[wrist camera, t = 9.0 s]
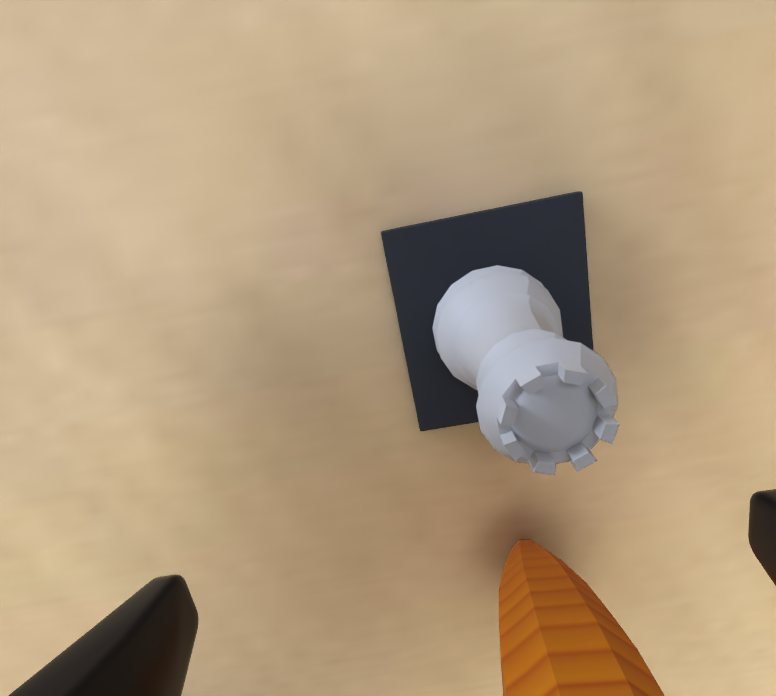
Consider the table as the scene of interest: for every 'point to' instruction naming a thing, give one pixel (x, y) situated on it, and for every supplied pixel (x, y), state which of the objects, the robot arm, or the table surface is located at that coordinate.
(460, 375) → the rook chess piece
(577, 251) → the coaster
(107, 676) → the robot arm
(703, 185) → the table surface
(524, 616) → the carrot
